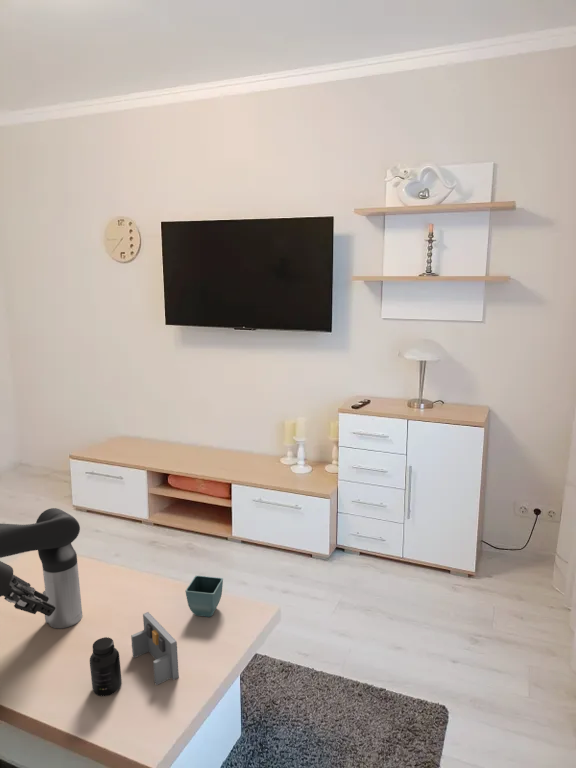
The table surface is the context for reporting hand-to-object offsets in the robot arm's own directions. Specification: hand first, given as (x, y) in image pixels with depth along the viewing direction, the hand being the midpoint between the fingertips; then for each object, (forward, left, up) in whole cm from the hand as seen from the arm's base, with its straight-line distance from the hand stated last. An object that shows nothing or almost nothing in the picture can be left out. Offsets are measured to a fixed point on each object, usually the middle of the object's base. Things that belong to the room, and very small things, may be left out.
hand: (48, 606), depth 125 cm
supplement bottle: (+6, +9, -26) cm, 29 cm away
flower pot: (+16, +44, -26) cm, 54 cm away
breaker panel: (+13, +19, -26) cm, 35 cm away
